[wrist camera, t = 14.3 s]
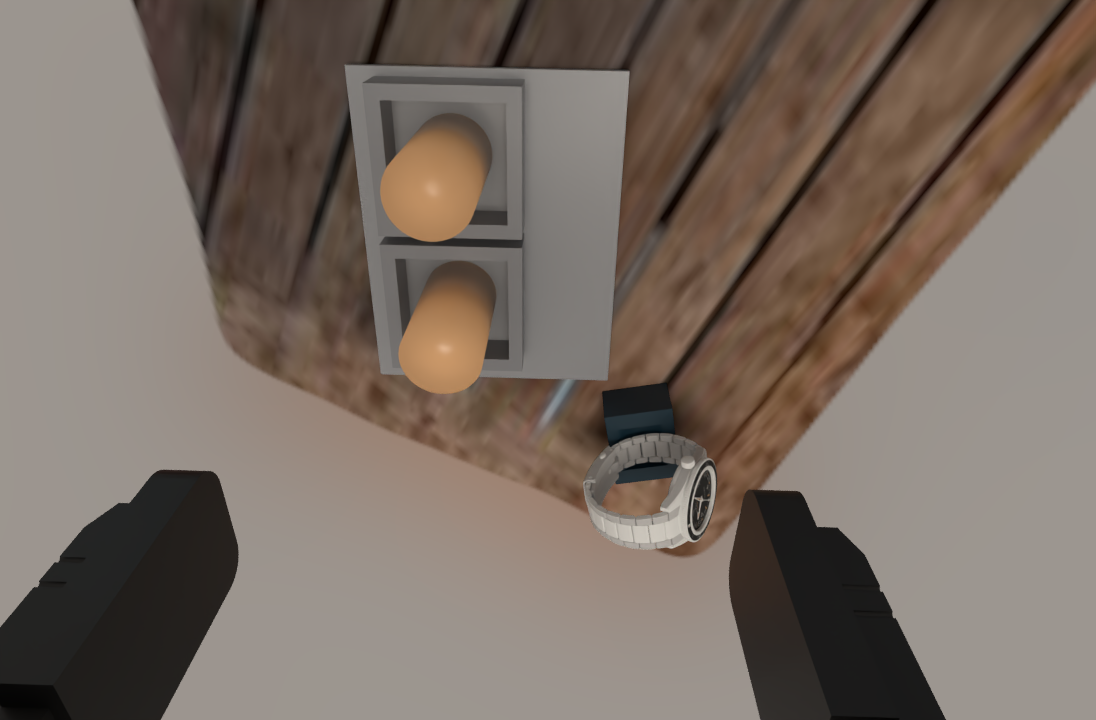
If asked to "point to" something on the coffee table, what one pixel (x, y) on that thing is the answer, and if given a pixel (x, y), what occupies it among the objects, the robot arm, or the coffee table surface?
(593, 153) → the housing
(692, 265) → the coffee table surface
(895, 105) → the coffee table surface
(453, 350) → the orange peg
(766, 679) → the robot arm
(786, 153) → the coffee table surface
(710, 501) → the watch
